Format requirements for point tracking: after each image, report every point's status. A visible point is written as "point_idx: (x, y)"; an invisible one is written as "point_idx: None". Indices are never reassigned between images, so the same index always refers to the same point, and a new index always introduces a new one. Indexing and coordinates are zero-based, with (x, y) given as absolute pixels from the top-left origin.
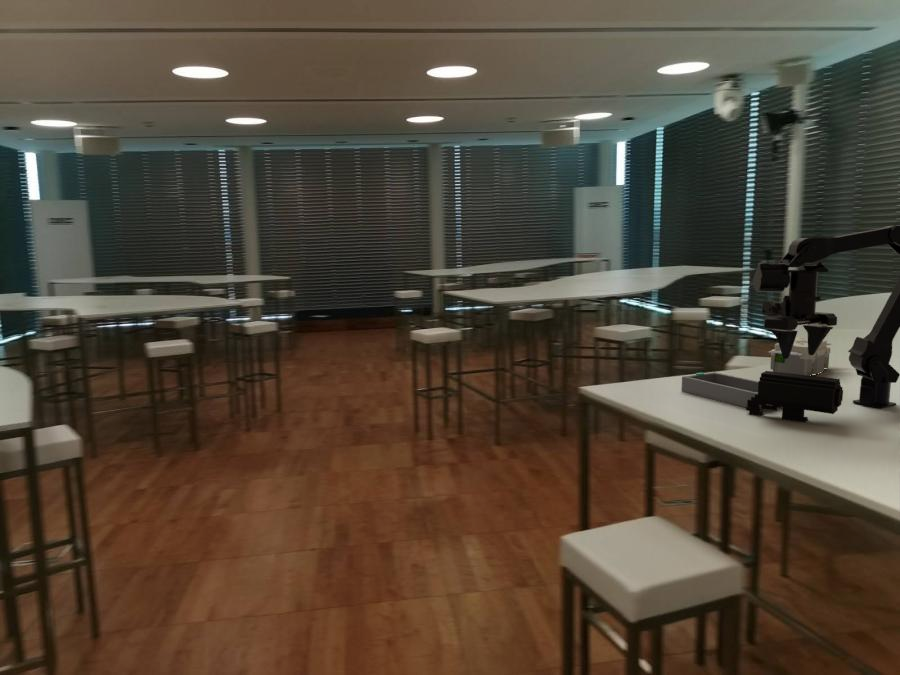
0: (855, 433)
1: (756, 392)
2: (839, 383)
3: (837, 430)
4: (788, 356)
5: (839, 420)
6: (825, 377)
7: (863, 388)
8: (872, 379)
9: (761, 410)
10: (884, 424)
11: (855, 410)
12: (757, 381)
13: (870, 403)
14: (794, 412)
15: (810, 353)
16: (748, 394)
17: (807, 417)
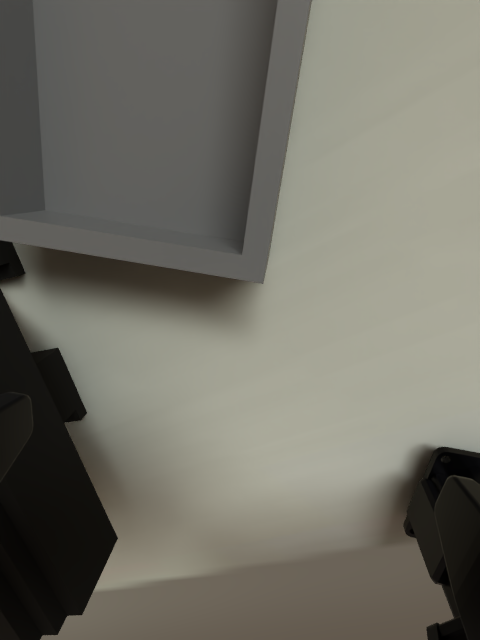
0: None
1: (2, 218)
2: (46, 629)
3: None
4: (10, 453)
5: (177, 469)
6: (2, 614)
7: (439, 546)
8: (436, 633)
9: (9, 272)
10: (241, 553)
11: (365, 461)
12: (300, 1)
13: (408, 515)
14: None
15: (447, 505)
16: None
17: (77, 419)
